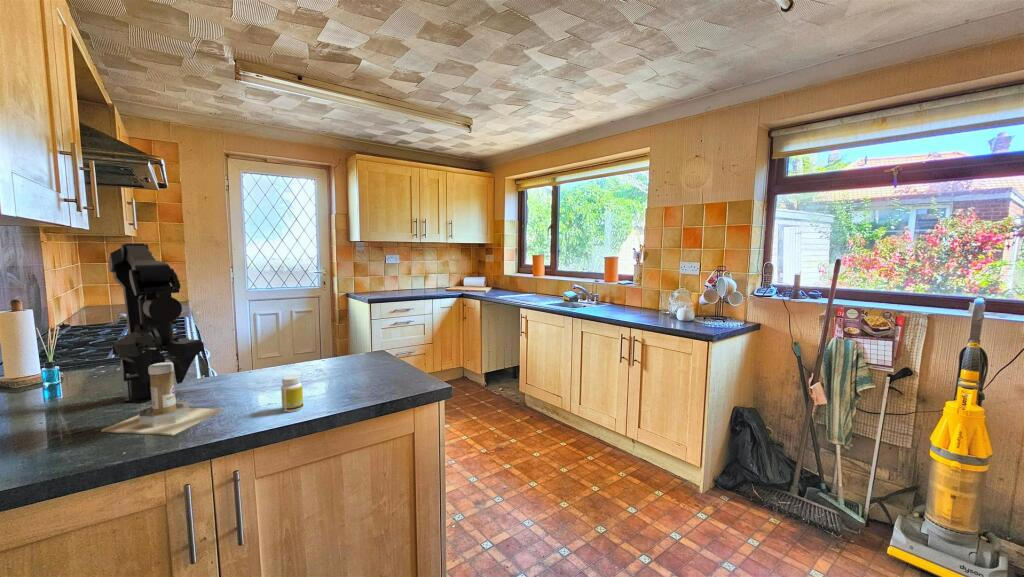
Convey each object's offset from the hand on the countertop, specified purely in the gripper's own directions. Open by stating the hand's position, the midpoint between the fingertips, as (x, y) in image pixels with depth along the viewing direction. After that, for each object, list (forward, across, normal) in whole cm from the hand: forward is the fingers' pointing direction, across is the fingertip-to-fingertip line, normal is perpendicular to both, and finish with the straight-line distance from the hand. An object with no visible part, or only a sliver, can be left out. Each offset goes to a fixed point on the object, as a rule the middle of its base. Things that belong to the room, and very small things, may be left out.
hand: (162, 382), depth 100 cm
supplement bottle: (+10, +26, +10) cm, 29 cm away
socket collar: (+9, 0, 0) cm, 9 cm away
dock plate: (+9, 0, 0) cm, 9 cm away
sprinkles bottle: (+9, 0, 0) cm, 9 cm away
